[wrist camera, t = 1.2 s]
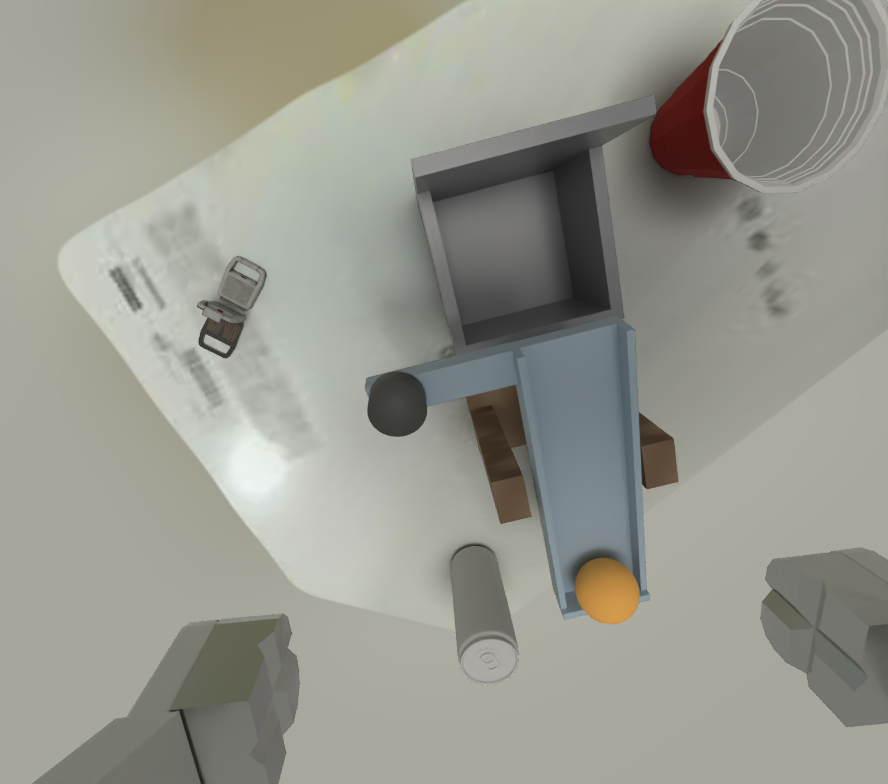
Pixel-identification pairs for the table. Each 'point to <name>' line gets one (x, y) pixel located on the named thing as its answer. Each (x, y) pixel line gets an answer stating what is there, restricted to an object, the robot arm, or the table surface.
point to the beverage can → (482, 618)
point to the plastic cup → (780, 96)
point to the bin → (525, 228)
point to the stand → (504, 430)
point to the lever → (553, 436)
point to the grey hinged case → (237, 294)
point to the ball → (607, 590)
